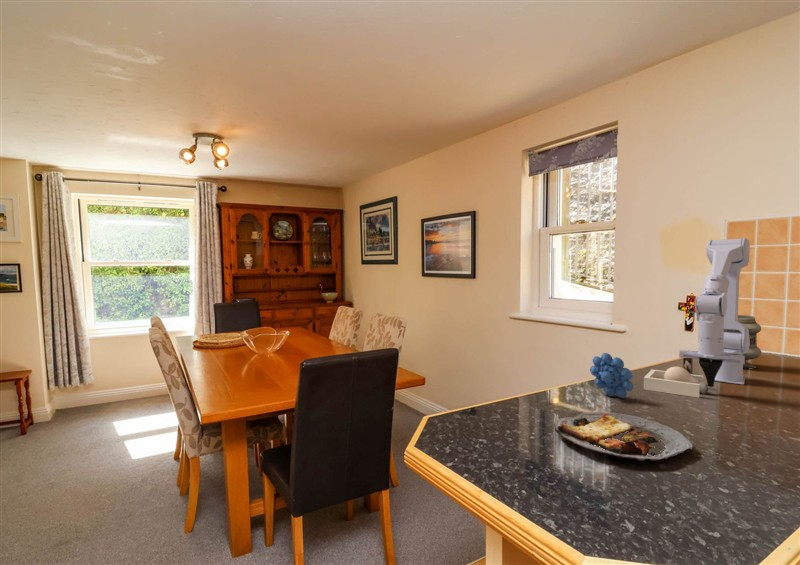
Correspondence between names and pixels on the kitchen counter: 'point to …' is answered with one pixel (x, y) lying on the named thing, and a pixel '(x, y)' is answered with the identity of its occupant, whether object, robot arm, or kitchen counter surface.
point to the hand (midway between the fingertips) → (710, 386)
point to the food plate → (607, 425)
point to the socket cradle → (671, 384)
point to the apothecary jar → (753, 330)
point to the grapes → (611, 375)
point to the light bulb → (683, 377)
